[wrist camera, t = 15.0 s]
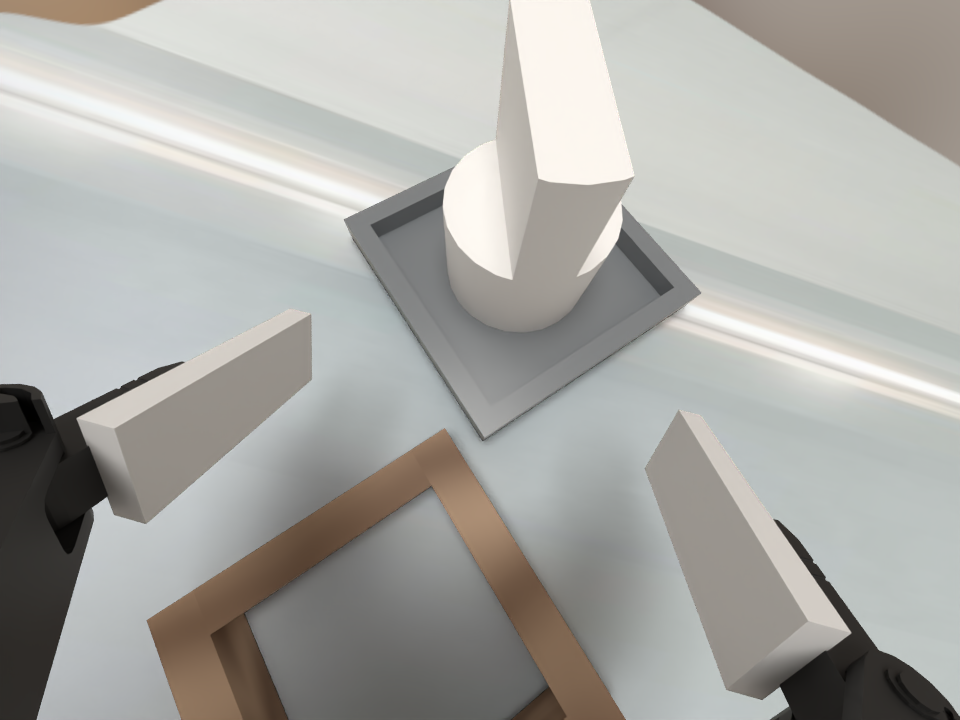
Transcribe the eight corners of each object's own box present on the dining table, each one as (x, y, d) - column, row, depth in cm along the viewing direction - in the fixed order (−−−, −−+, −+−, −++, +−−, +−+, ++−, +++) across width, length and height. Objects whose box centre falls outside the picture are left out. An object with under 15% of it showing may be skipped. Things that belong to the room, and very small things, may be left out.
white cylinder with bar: (444, 214, 25) (428, -10, 13) (572, 209, 25) (663, -8, 14) (451, 336, 22) (439, 189, 11) (595, 328, 23) (730, 180, 11)
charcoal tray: (352, 239, 24) (343, 219, 23) (541, 146, 28) (547, 122, 26) (482, 441, 21) (484, 437, 19) (682, 307, 24) (701, 293, 22)
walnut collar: (188, 600, 18) (146, 620, 16) (447, 433, 21) (444, 428, 18) (325, 957, 14) (298, 1053, 12) (610, 696, 17) (633, 732, 15)
